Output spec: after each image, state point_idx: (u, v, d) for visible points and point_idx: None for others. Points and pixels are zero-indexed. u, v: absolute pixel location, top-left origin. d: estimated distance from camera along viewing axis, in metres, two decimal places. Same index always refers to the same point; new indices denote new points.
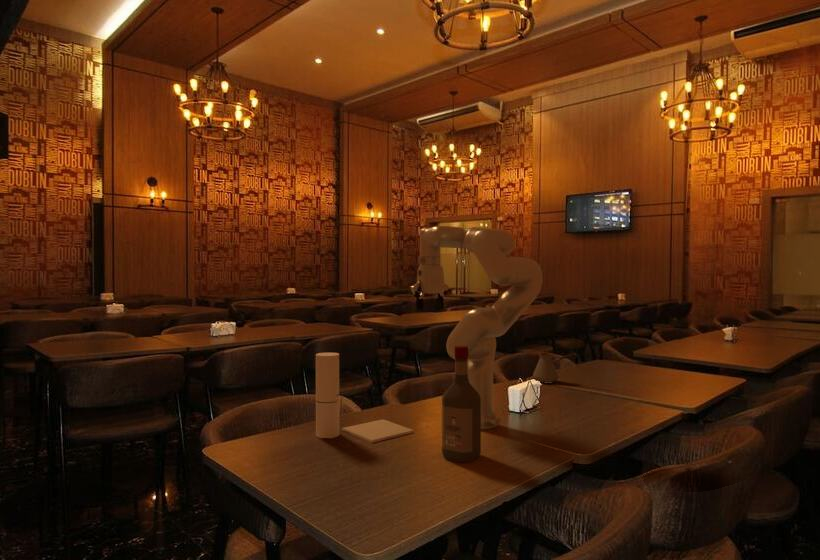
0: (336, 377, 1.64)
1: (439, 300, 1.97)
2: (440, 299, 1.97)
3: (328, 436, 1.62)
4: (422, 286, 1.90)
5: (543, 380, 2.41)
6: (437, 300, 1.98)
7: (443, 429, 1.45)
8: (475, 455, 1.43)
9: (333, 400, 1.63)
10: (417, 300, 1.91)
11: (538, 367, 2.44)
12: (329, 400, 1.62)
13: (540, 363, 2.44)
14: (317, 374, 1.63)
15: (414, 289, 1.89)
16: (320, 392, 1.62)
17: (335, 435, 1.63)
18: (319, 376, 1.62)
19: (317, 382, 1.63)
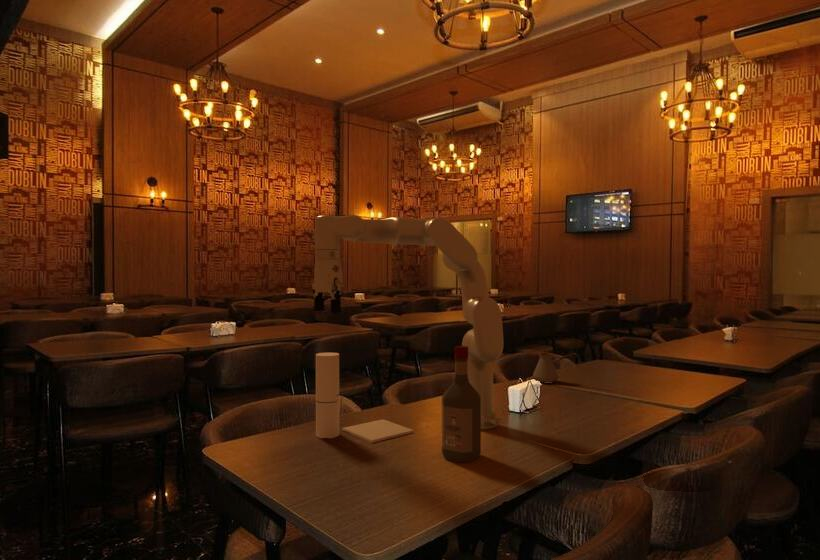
0: (336, 377, 1.64)
1: (320, 301, 1.69)
2: (322, 299, 1.69)
3: (328, 436, 1.62)
4: None
5: (543, 380, 2.41)
6: (317, 301, 1.68)
7: (443, 429, 1.45)
8: (475, 455, 1.43)
9: (333, 400, 1.63)
10: (336, 301, 1.60)
11: (538, 367, 2.44)
12: (329, 400, 1.62)
13: (540, 363, 2.44)
14: (317, 374, 1.63)
15: None
16: (320, 392, 1.62)
17: (335, 435, 1.63)
18: (319, 376, 1.62)
19: (317, 382, 1.63)
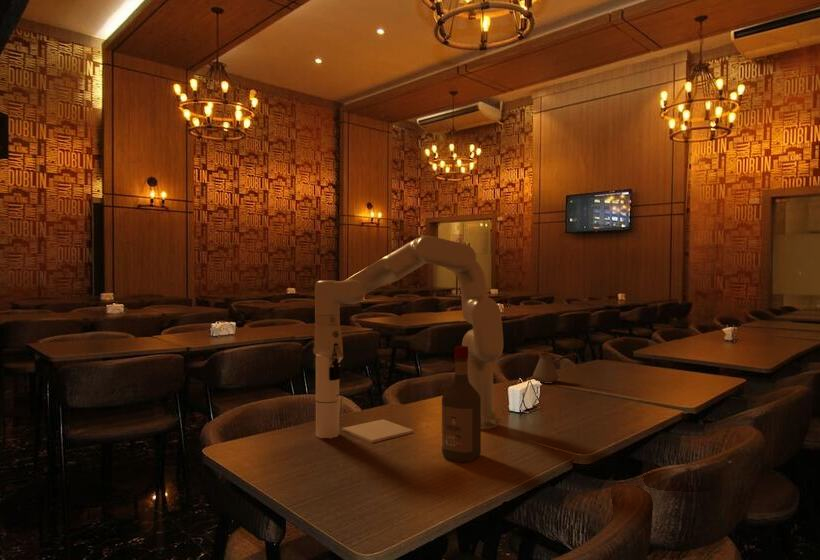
0: None
1: None
2: None
3: (328, 436, 1.62)
4: (340, 349, 1.62)
5: (543, 380, 2.41)
6: None
7: (443, 429, 1.45)
8: (475, 455, 1.43)
9: (333, 400, 1.63)
10: (335, 369, 1.61)
11: (538, 367, 2.44)
12: (329, 400, 1.62)
13: (540, 363, 2.44)
14: (317, 374, 1.63)
15: None
16: (320, 392, 1.62)
17: (335, 435, 1.63)
18: (319, 376, 1.62)
19: (317, 382, 1.63)
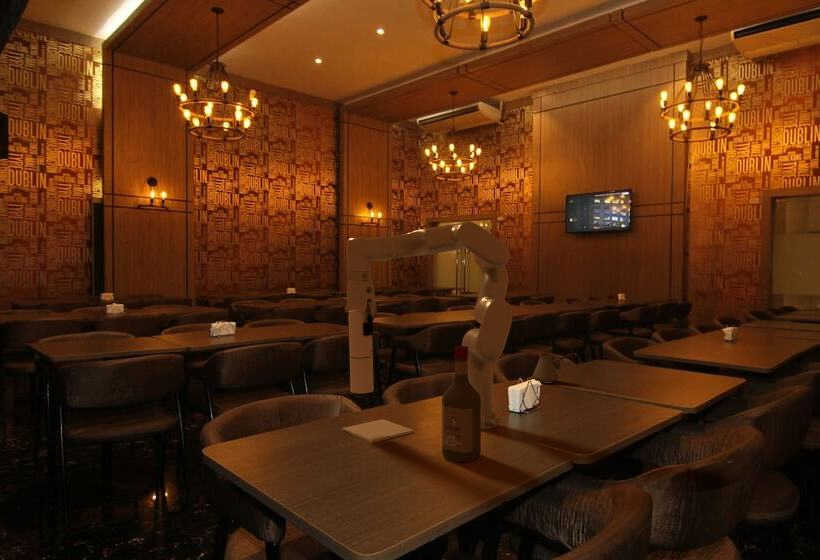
0: None
1: None
2: None
3: (363, 391, 1.64)
4: (373, 305, 1.64)
5: (543, 380, 2.41)
6: None
7: (443, 429, 1.45)
8: (475, 455, 1.43)
9: (367, 355, 1.65)
10: (369, 324, 1.64)
11: (538, 367, 2.44)
12: (363, 355, 1.64)
13: (540, 363, 2.44)
14: (351, 330, 1.65)
15: None
16: (354, 347, 1.65)
17: (370, 390, 1.66)
18: (353, 332, 1.65)
19: (351, 338, 1.65)
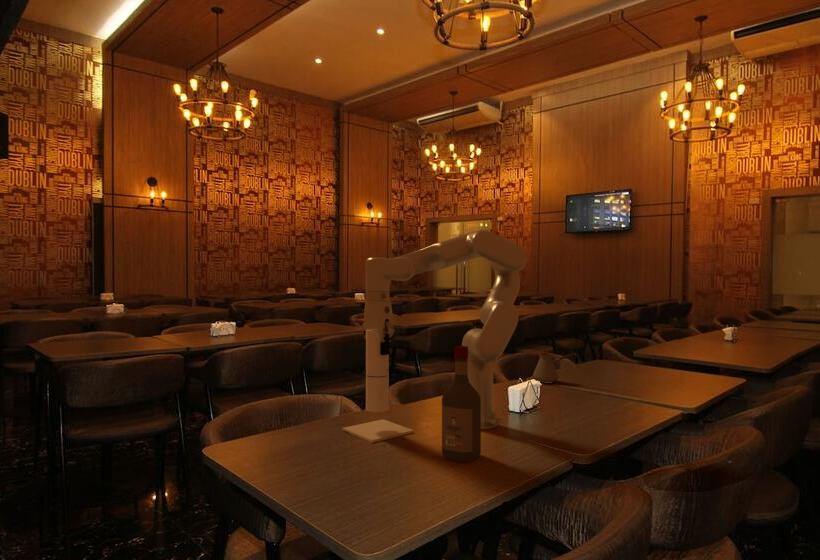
0: None
1: None
2: None
3: (379, 410, 1.66)
4: (391, 325, 1.66)
5: (543, 380, 2.41)
6: None
7: (443, 429, 1.45)
8: (475, 455, 1.43)
9: (383, 374, 1.66)
10: (386, 344, 1.65)
11: (538, 367, 2.44)
12: (380, 374, 1.65)
13: (540, 363, 2.44)
14: (368, 349, 1.67)
15: None
16: (370, 366, 1.66)
17: (385, 409, 1.67)
18: (370, 351, 1.66)
19: (368, 357, 1.67)
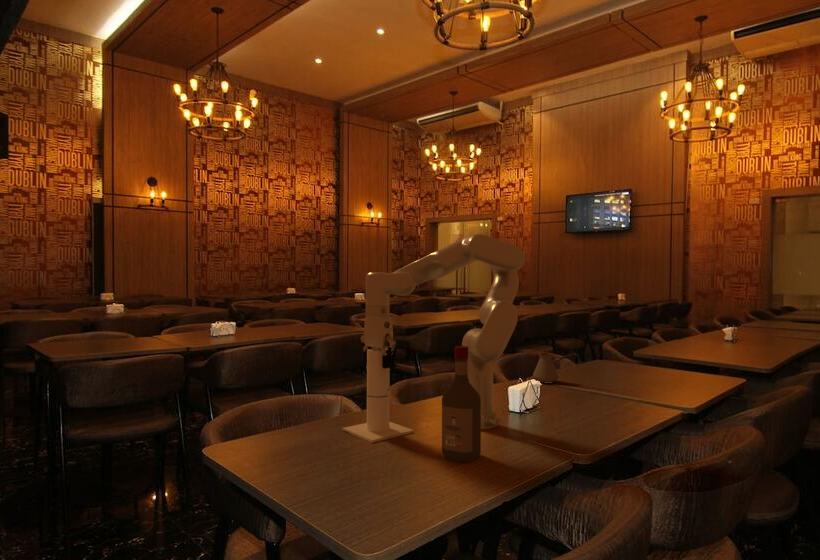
0: (387, 372, 1.67)
1: None
2: None
3: (379, 430, 1.66)
4: None
5: (543, 380, 2.41)
6: None
7: (443, 429, 1.45)
8: (475, 455, 1.43)
9: (384, 394, 1.66)
10: (388, 357, 1.64)
11: (538, 367, 2.44)
12: (381, 394, 1.66)
13: (540, 363, 2.44)
14: (369, 369, 1.67)
15: None
16: (371, 386, 1.66)
17: (386, 429, 1.67)
18: (371, 371, 1.66)
19: (369, 377, 1.67)
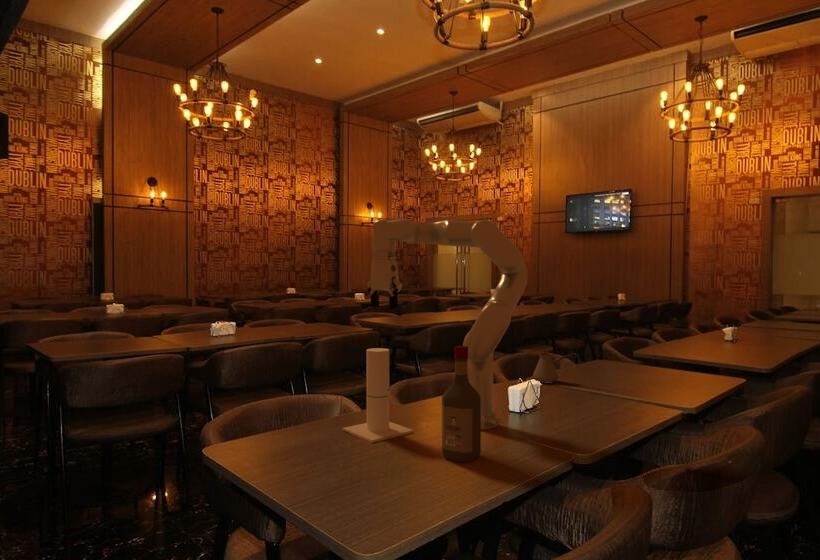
0: (387, 372, 1.67)
1: (376, 298, 1.84)
2: (377, 296, 1.85)
3: (379, 430, 1.66)
4: None
5: (543, 380, 2.41)
6: (373, 298, 1.83)
7: (443, 429, 1.45)
8: (475, 455, 1.43)
9: (384, 395, 1.66)
10: (394, 298, 1.76)
11: (538, 367, 2.44)
12: (380, 395, 1.66)
13: (540, 363, 2.44)
14: (368, 369, 1.67)
15: None
16: (371, 387, 1.66)
17: (386, 429, 1.67)
18: (370, 371, 1.66)
19: (368, 377, 1.67)
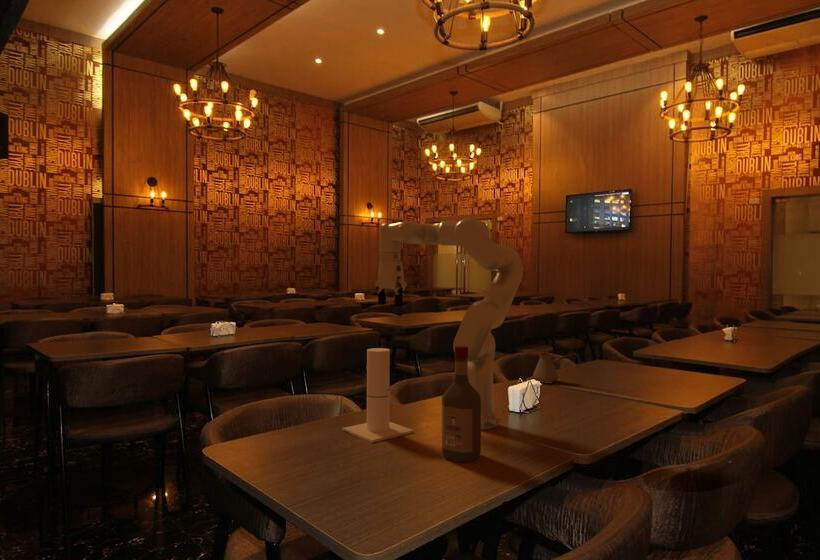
0: (387, 372, 1.67)
1: (383, 296, 1.97)
2: (384, 295, 1.97)
3: (379, 430, 1.66)
4: None
5: (543, 380, 2.41)
6: (380, 296, 1.96)
7: (443, 429, 1.45)
8: (475, 455, 1.43)
9: (384, 395, 1.66)
10: (399, 296, 1.89)
11: (538, 367, 2.44)
12: (381, 394, 1.66)
13: (540, 363, 2.44)
14: (369, 369, 1.67)
15: None
16: (371, 386, 1.66)
17: (386, 429, 1.67)
18: (371, 371, 1.66)
19: (369, 377, 1.67)
